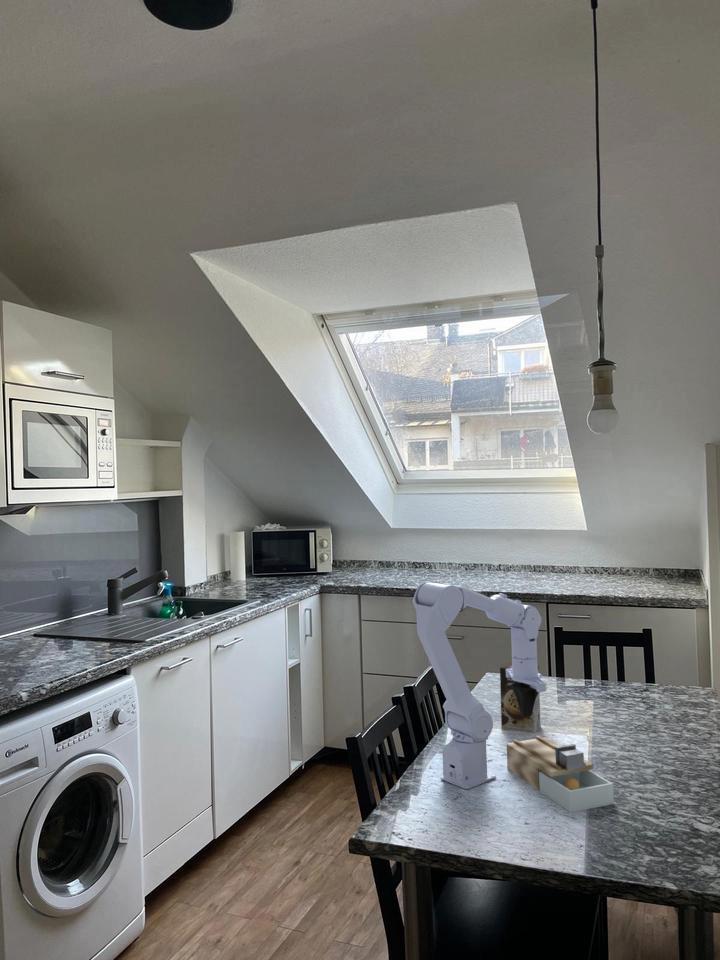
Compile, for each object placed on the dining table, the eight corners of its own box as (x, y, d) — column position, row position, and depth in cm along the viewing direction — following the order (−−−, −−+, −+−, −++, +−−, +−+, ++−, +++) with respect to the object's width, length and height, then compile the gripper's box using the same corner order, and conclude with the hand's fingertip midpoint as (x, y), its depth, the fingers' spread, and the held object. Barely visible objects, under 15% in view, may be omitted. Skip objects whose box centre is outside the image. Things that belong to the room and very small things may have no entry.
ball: (572, 797, 151) (573, 784, 150) (560, 791, 153) (561, 777, 152) (581, 793, 152) (582, 779, 152) (569, 786, 155) (570, 773, 154)
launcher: (507, 768, 167) (506, 740, 168) (546, 761, 171) (545, 734, 171) (552, 799, 150) (550, 768, 150) (594, 791, 154) (592, 761, 154)
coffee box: (500, 729, 194) (498, 667, 194) (507, 721, 200) (505, 661, 200) (535, 733, 190) (533, 670, 190) (541, 726, 195) (539, 664, 196)
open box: (539, 790, 155) (538, 771, 155) (580, 783, 158) (580, 764, 158) (570, 812, 144) (569, 791, 144) (613, 803, 147) (613, 783, 147)
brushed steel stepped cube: (555, 764, 154) (555, 746, 154) (574, 761, 155) (573, 743, 155) (566, 770, 150) (565, 752, 150) (584, 767, 152) (584, 749, 152)
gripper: (557, 661, 166) (559, 722, 166) (523, 648, 180) (525, 704, 180) (529, 664, 164) (531, 726, 164) (497, 651, 178) (499, 708, 178)
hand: (526, 715), depth 172 cm, fingers closed
